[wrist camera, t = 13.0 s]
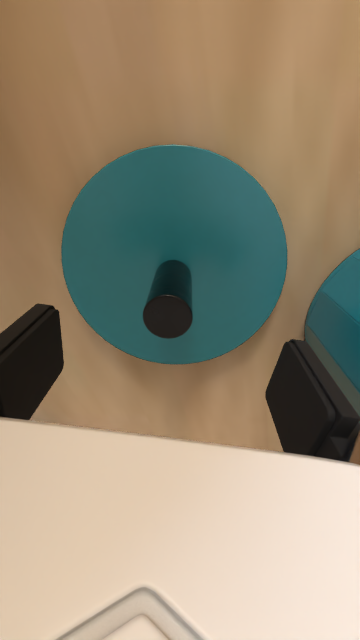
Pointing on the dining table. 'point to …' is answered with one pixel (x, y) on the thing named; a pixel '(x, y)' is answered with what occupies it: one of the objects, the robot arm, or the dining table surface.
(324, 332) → the pot
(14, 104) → the dining table surface
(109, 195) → the lid
